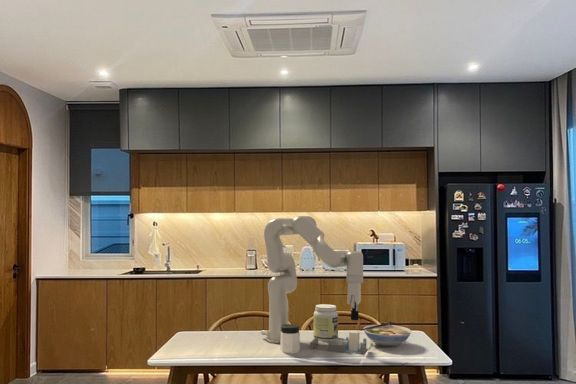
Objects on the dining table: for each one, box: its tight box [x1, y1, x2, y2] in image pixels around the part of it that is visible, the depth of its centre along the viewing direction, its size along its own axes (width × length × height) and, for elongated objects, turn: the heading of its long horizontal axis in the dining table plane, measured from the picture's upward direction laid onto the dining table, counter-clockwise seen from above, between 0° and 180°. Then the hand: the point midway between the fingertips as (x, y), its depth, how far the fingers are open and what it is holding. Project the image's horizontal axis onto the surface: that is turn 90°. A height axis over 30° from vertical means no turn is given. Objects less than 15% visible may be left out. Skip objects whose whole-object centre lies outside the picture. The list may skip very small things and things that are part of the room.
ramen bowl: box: [360, 321, 412, 348], centre depth 240 cm, size 25×23×8 cm
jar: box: [279, 323, 301, 354], centre depth 225 cm, size 9×8×12 cm
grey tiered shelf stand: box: [309, 336, 367, 355], centre depth 228 cm, size 24×10×6 cm, turn 73°
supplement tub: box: [313, 303, 339, 342], centre depth 248 cm, size 12×12×17 cm
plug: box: [348, 330, 360, 351], centre depth 226 cm, size 4×4×8 cm
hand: (354, 319), depth 227 cm, fingers closed
